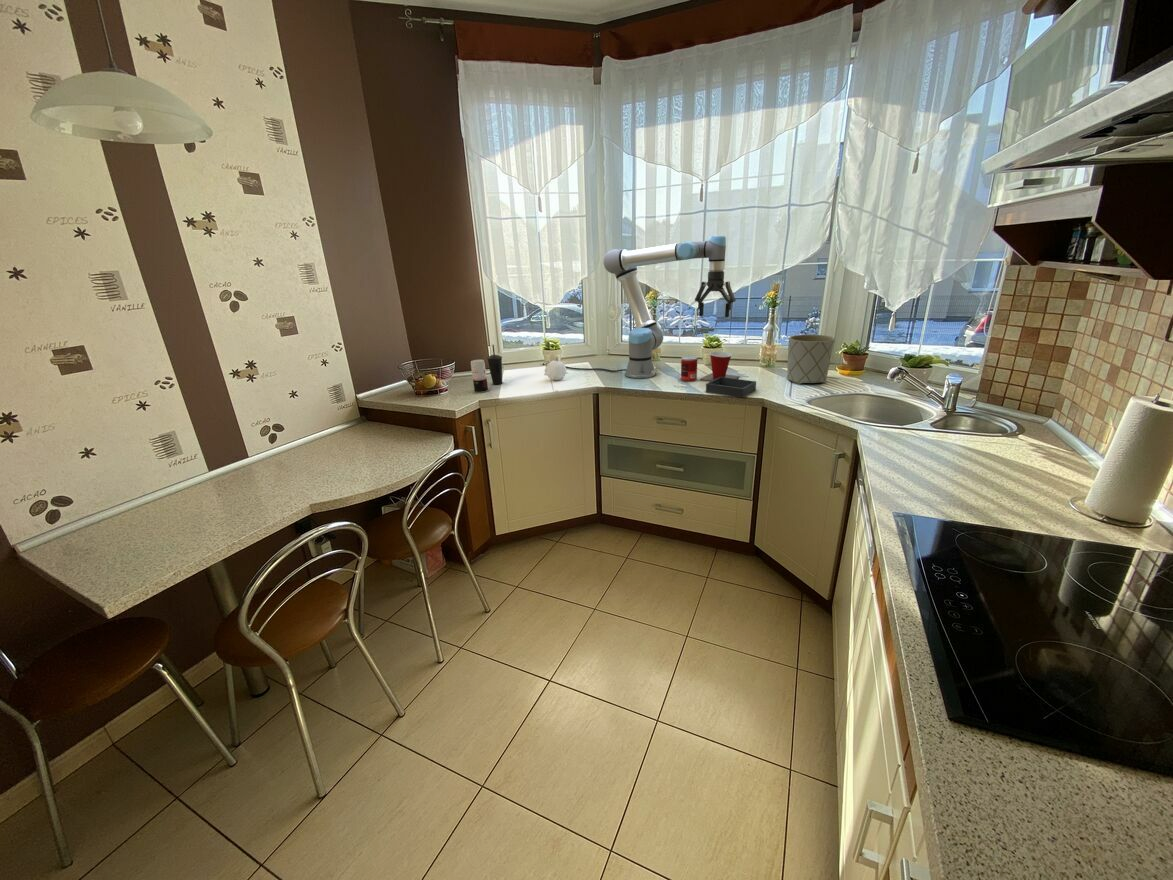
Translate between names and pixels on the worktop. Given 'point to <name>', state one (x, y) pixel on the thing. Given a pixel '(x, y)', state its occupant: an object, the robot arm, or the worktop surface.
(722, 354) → the plastic cup
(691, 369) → the canned food
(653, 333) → the robot arm
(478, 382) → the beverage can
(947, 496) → the worktop surface
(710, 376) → the grey square plate
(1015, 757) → the worktop surface
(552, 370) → the ornament
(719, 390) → the dark grey tray
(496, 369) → the drinking cup
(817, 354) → the planter
